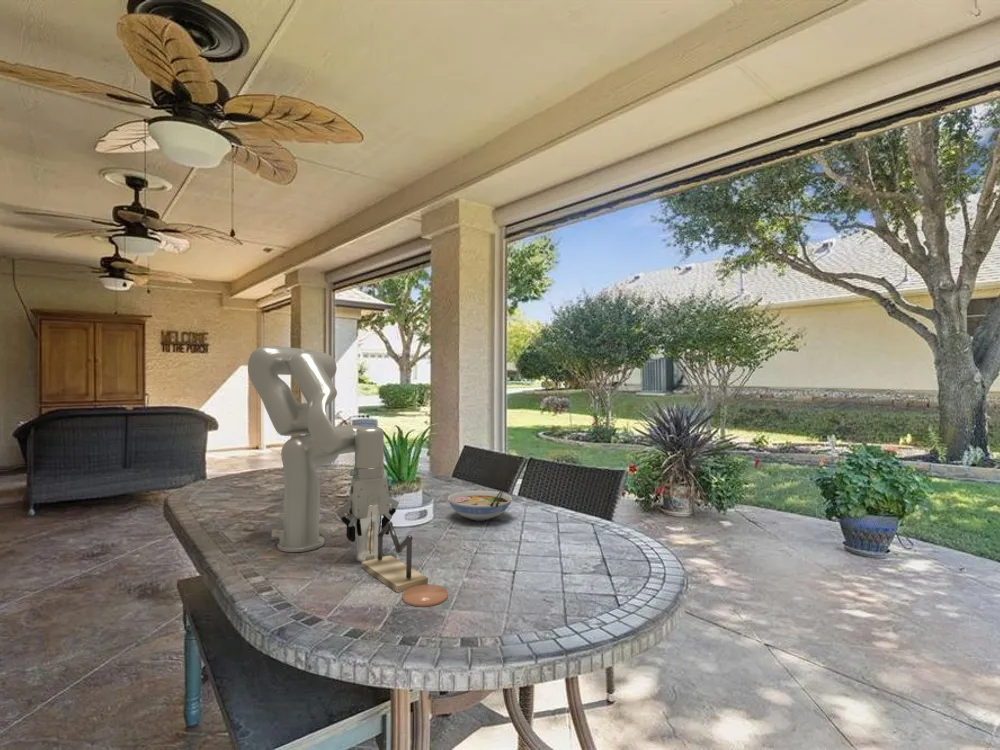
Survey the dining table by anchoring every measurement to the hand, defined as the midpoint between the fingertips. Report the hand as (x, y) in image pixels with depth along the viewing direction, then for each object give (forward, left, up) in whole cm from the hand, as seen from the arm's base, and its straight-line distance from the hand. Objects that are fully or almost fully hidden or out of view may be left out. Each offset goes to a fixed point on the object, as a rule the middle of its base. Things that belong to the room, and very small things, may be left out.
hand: (368, 536), depth 134 cm
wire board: (+10, -10, -6) cm, 16 cm away
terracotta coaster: (+21, -21, -6) cm, 30 cm away
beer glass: (0, 0, -6) cm, 6 cm away
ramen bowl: (+24, +44, -6) cm, 50 cm away
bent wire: (+10, -10, -4) cm, 15 cm away
